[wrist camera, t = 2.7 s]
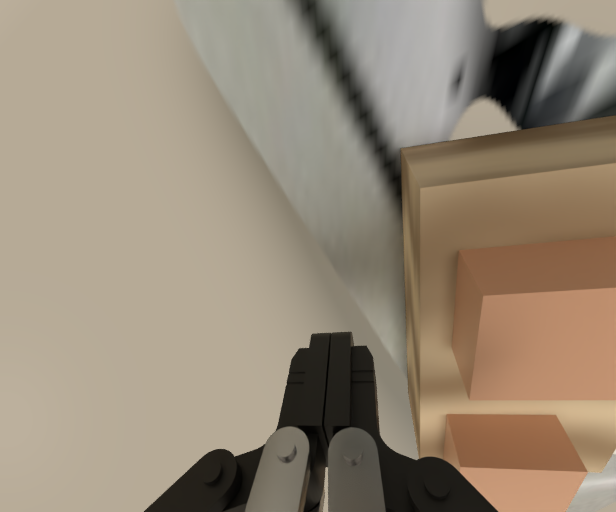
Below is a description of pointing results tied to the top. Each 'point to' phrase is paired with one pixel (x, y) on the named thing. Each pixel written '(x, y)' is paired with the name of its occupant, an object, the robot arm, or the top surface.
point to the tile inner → (537, 321)
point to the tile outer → (515, 460)
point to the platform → (495, 233)
